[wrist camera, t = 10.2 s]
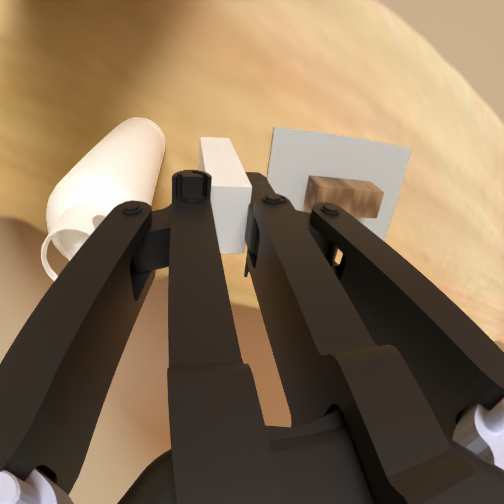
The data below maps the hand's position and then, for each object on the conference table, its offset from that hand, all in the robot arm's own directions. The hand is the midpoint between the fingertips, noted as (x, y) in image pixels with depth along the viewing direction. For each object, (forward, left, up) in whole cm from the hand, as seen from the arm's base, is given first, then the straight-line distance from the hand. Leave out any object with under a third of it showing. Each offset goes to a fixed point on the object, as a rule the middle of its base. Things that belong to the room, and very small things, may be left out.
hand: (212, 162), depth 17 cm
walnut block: (+11, +17, -25) cm, 32 cm away
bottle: (+6, -8, -28) cm, 29 cm away
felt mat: (+11, +22, -27) cm, 37 cm away
